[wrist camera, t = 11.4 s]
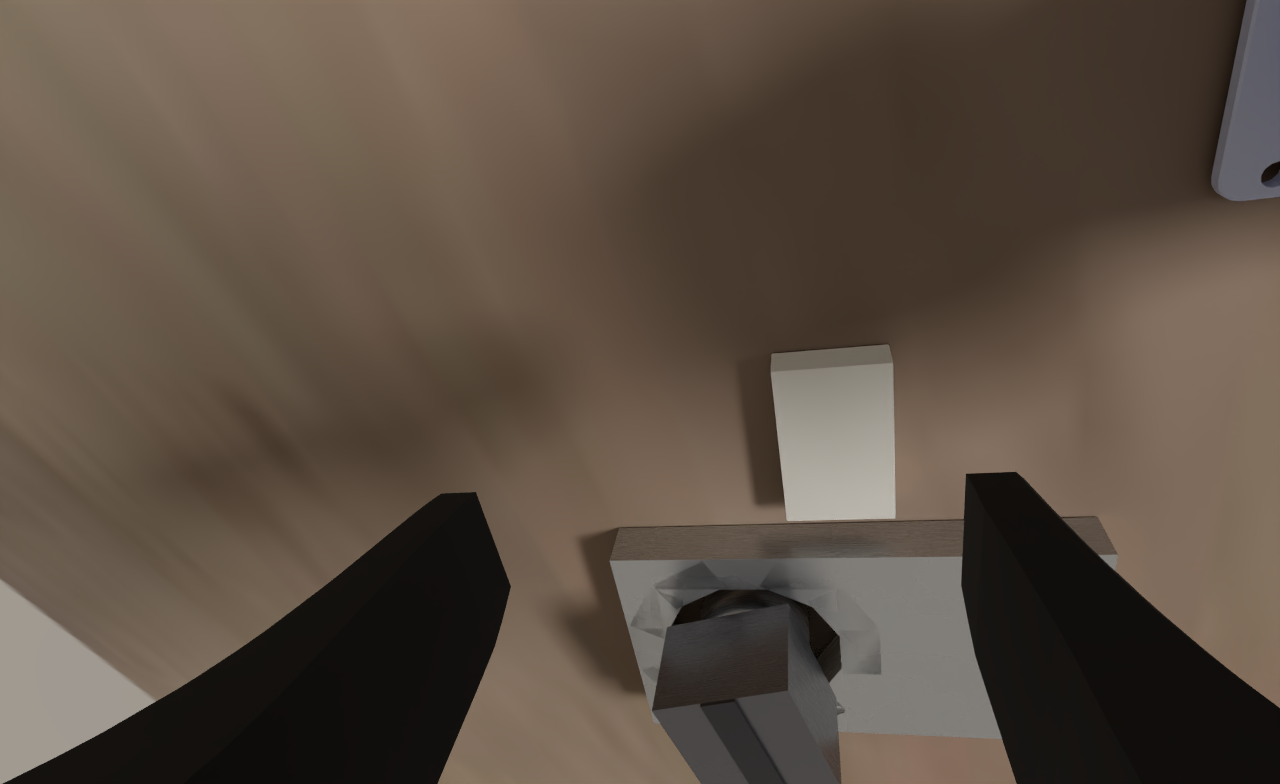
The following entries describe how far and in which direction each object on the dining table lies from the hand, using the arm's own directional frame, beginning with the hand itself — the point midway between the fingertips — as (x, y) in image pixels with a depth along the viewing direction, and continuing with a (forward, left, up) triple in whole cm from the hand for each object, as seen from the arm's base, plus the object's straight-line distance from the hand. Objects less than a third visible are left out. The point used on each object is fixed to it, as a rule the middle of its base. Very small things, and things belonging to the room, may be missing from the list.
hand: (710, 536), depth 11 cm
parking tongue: (-2, +5, -9) cm, 11 cm away
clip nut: (+1, +12, -9) cm, 15 cm away
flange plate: (-2, +12, -9) cm, 15 cm away
